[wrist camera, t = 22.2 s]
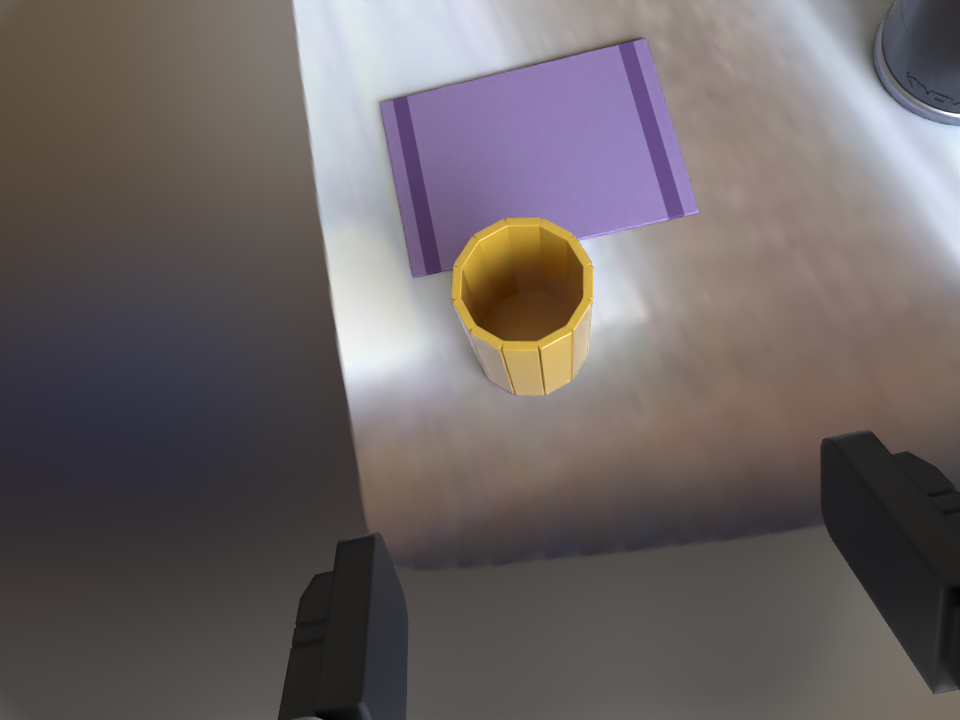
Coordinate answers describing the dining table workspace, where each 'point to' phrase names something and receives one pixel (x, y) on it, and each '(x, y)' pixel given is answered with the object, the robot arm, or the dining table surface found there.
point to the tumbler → (525, 303)
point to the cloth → (536, 153)
